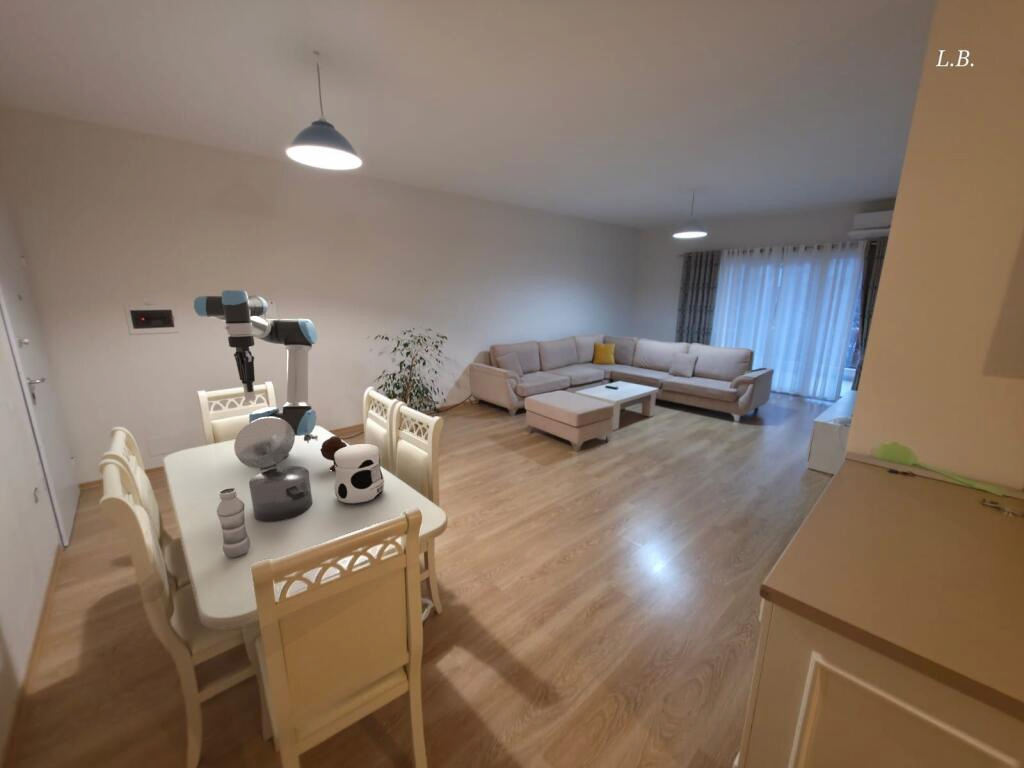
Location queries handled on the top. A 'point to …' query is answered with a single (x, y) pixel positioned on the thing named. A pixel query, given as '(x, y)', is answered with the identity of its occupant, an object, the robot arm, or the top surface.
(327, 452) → the brown miniature tree
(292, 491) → the pot
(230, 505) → the plastic bottle
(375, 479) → the milk container
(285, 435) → the lid
